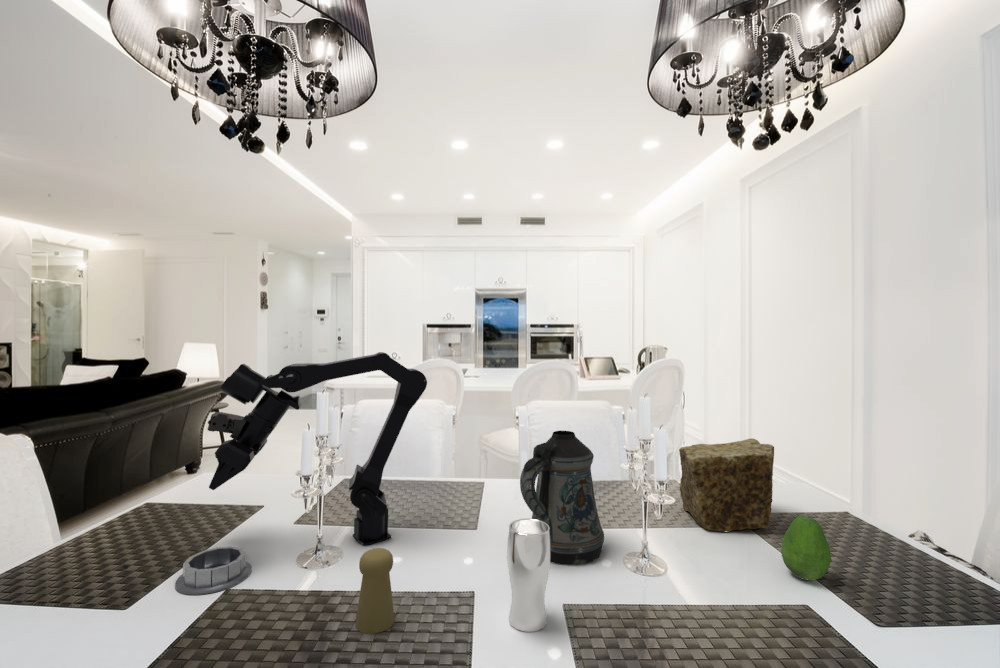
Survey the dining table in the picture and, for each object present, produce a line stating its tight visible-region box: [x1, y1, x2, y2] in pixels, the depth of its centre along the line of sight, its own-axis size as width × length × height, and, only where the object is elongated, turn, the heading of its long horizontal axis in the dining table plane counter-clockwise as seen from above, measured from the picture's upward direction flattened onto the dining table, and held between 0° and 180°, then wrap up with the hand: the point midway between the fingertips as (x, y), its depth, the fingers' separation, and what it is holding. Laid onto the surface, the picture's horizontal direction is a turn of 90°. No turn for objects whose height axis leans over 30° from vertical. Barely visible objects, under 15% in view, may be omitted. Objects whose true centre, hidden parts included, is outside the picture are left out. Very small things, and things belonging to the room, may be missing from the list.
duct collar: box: [174, 545, 253, 596], centre depth 85 cm, size 12×12×4 cm
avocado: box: [780, 514, 832, 581], centre depth 89 cm, size 8×8×12 cm
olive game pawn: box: [354, 547, 396, 635], centre depth 73 cm, size 6×6×11 cm
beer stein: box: [519, 430, 605, 566], centre depth 99 cm, size 16×19×25 cm
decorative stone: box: [678, 438, 775, 532], centre depth 117 cm, size 21×20×20 cm
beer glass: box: [506, 518, 551, 633], centre depth 74 cm, size 7×7×15 cm
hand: (217, 481), depth 94 cm, fingers open, 9 cm apart
